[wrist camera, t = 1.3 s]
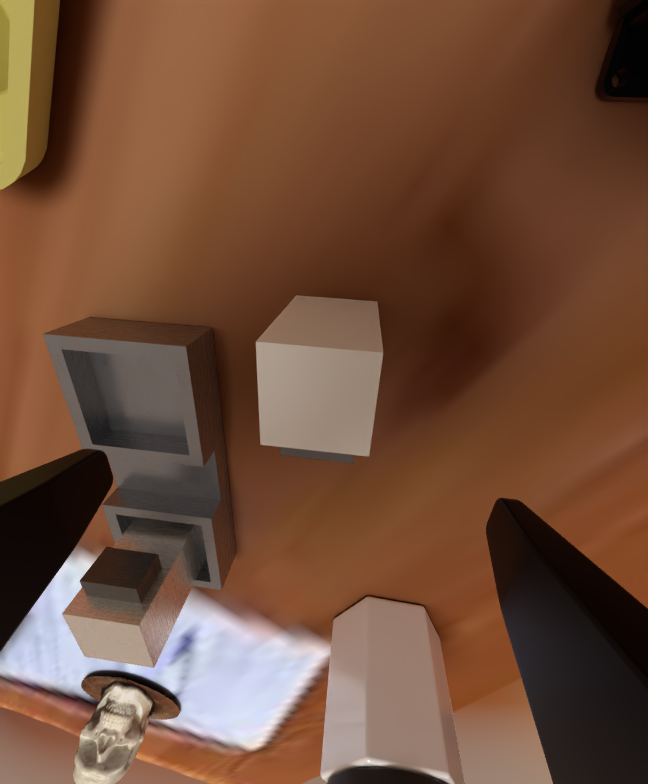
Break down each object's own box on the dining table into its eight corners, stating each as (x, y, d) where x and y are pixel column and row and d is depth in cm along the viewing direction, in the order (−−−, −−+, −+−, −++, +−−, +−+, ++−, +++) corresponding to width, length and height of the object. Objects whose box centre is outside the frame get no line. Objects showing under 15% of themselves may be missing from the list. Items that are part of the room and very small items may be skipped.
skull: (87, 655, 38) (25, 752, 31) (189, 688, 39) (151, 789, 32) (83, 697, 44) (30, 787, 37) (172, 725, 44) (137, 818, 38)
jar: (388, 664, 32) (398, 892, 21) (316, 626, 30) (289, 851, 19) (461, 627, 28) (519, 882, 17) (384, 581, 26) (395, 830, 16)
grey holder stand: (212, 327, 18) (103, 406, 11) (236, 552, 26) (184, 685, 19) (88, 317, 19) (-98, 385, 11) (150, 540, 27) (66, 665, 20)
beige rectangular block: (377, 301, 17) (383, 352, 10) (366, 395, 19) (365, 481, 13) (296, 295, 17) (255, 341, 11) (295, 388, 19) (261, 469, 13)
